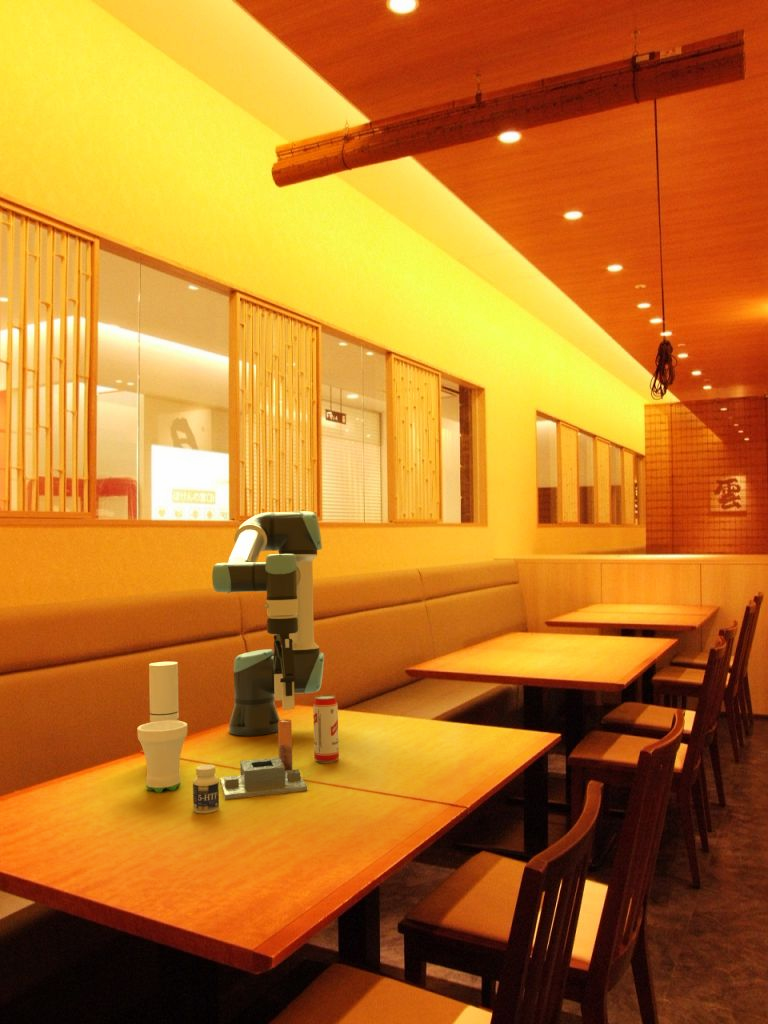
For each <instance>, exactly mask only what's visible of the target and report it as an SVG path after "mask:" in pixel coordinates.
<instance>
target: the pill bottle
mask: <svg viewBox="0 0 768 1024" xmlns="http://www.w3.org/2000/svg"><path fill="white" fill-rule="evenodd" d="M215 774H216V765H214V764H201V765H198V766H196V768H195V775H196V777H195V778H193V780H192V808H193V809H192V810H193V812H194V813H197V814H210V813H214V812H217V811H218V810H219V809H220V794H219V793H220V787H219V786H220V784H219V783H220V779H219V778H218V776H217V775H215Z"/></svg>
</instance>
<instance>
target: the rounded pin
mask: <svg viewBox="0 0 768 1024" xmlns="http://www.w3.org/2000/svg"><path fill="white" fill-rule="evenodd" d="M292 728H293V727H292V720H291V719H280V720H279V721H278V731H277V733H278V757H279V758H280V760H281V762H282V763H283V765H284V767H285V771H286V770H294V769H293V737H292V736H293V732H292Z"/></svg>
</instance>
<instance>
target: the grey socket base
mask: <svg viewBox="0 0 768 1024" xmlns="http://www.w3.org/2000/svg"><path fill="white" fill-rule="evenodd" d="M239 763H240V764H239V765H240V768H239V769H240V775H228V776H223V777H219V783H220V786H222V787H221V789H222V792H223V797H224V800H234V799H242V798H251V797H260V796H270V795H278V794H279V795H280V794H288V793H296V792H297V793H299V792H306V791H308V785H307V783H306V782H305V780H304V779H303V778H302V775H301V772H300V770H299V769H293V770H286V771H285V767H284V765H283V763H282V762H281V760H280V758H279V756H278V757H271V758H270V757H269V758H260V759H248V760H240V762H239Z"/></svg>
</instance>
